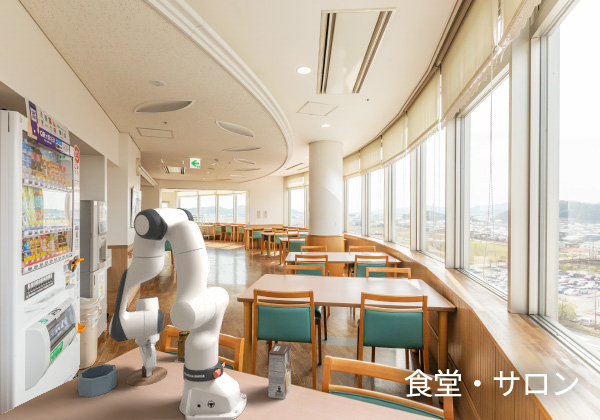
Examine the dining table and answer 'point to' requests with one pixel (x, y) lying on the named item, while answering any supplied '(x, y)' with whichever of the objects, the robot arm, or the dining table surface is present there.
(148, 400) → the dining table surface
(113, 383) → the bowl
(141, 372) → the lid
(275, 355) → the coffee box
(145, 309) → the robot arm
